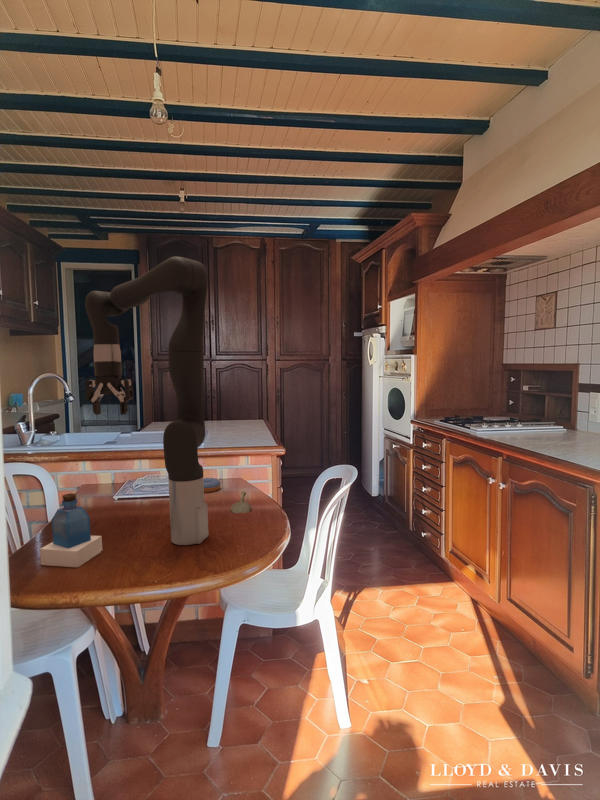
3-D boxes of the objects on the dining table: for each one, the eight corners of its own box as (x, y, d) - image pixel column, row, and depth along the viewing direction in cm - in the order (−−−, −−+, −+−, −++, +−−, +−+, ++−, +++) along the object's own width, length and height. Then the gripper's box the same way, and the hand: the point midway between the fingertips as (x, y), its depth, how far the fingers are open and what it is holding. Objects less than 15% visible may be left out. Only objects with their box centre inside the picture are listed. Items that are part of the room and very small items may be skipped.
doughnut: (221, 484, 190) (219, 473, 189) (220, 493, 180) (219, 481, 179) (195, 488, 188) (193, 477, 188) (193, 497, 178) (191, 485, 178)
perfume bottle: (90, 540, 124) (88, 493, 123) (68, 548, 118) (65, 500, 117) (75, 535, 127) (73, 490, 126) (53, 543, 122) (50, 496, 121)
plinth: (102, 551, 127) (101, 536, 126) (77, 567, 117) (76, 551, 116) (68, 548, 129) (67, 534, 128) (41, 564, 119) (40, 548, 118)
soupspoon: (229, 517, 155) (250, 517, 155) (229, 507, 155) (250, 507, 155) (235, 495, 177) (253, 495, 177) (235, 486, 176) (253, 486, 177)
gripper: (78, 360, 142) (81, 416, 144) (122, 359, 139) (125, 416, 141) (93, 360, 150) (96, 413, 151) (136, 359, 147) (138, 413, 148)
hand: (110, 414), depth 146 cm, fingers open, 8 cm apart
